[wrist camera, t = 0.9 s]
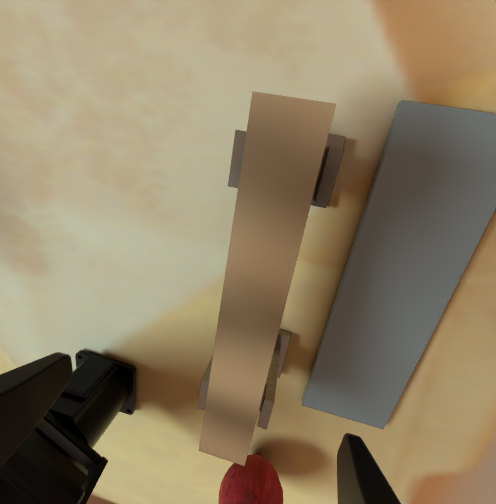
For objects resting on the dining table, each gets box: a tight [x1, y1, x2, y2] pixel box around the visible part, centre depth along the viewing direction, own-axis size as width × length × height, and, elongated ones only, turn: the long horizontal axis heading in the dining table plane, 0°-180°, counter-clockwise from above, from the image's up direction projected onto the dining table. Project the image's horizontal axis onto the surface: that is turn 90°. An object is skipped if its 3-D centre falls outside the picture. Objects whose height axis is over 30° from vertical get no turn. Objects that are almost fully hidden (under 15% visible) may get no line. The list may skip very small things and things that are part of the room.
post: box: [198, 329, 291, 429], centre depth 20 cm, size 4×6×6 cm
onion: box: [219, 454, 283, 504], centre depth 24 cm, size 6×6×8 cm
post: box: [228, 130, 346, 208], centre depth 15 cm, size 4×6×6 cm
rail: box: [199, 92, 336, 466], centre depth 14 cm, size 20×3×3 cm, turn 170°
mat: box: [302, 100, 496, 429], centre depth 19 cm, size 24×7×1 cm, turn 170°
